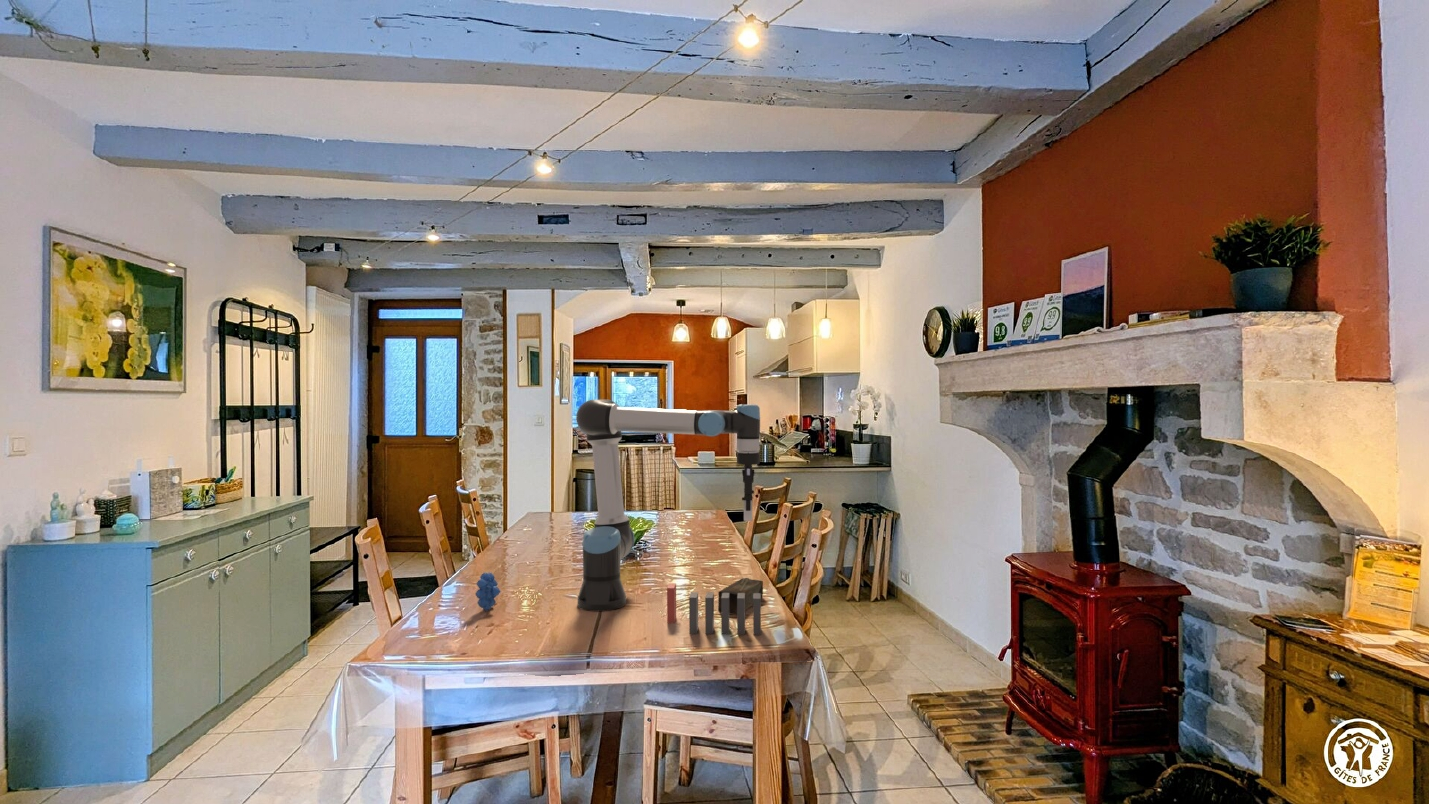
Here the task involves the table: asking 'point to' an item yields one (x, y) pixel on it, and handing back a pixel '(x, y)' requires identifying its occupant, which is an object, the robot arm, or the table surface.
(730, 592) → the beverage carton
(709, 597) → the domino
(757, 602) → the domino
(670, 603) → the domino red
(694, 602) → the domino
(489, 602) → the grapes
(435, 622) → the table surface
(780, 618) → the table surface
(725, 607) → the domino
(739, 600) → the domino
